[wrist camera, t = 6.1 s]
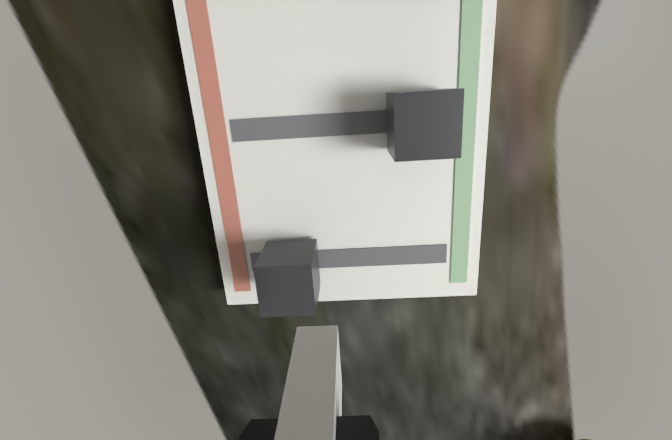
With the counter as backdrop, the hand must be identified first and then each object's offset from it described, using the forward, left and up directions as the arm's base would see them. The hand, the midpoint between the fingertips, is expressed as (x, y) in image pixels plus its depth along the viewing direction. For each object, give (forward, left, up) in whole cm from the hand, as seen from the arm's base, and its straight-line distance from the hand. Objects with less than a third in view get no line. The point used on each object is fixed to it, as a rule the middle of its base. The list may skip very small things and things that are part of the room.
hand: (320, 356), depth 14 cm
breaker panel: (-8, +1, -12) cm, 14 cm away
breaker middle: (-8, +5, -9) cm, 13 cm away
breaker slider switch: (0, -2, -9) cm, 9 cm away
